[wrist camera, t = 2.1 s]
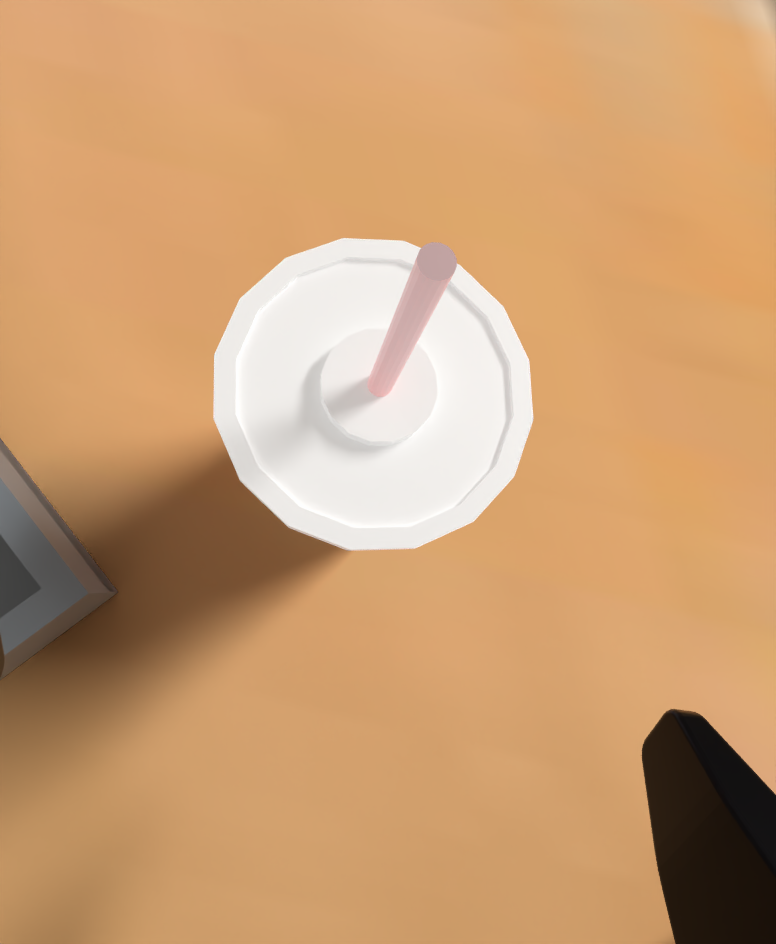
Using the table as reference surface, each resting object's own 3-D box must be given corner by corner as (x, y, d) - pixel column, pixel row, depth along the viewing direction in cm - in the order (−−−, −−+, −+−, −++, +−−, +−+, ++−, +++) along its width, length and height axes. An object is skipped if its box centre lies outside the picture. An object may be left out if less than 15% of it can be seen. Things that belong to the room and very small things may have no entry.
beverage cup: (363, 342, 22) (486, -51, 8) (471, 493, 22) (781, 339, 8) (204, 443, 21) (44, 172, 7) (316, 605, 20) (374, 648, 7)
